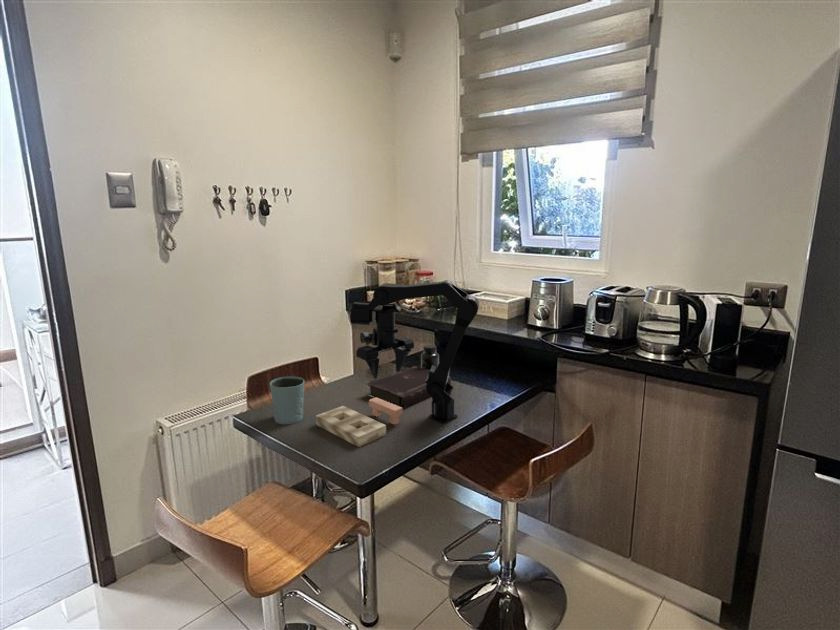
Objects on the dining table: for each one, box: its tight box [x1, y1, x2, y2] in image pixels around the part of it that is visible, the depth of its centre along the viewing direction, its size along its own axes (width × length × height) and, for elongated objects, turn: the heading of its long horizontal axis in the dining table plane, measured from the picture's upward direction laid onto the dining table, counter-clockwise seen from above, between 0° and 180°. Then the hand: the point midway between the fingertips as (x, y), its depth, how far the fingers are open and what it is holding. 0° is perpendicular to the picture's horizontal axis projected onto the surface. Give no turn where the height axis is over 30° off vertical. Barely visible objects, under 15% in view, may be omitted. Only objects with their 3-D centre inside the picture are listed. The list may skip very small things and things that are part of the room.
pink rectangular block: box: [368, 397, 404, 426], centre depth 150 cm, size 12×3×5 cm, turn 46°
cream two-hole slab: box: [315, 405, 387, 448], centre depth 144 cm, size 20×10×3 cm, turn 46°
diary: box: [366, 366, 452, 410], centre depth 173 cm, size 19×25×5 cm
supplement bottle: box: [420, 344, 440, 370], centre depth 186 cm, size 7×7×12 cm
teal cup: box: [269, 376, 306, 425], centre depth 151 cm, size 10×10×12 cm
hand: (386, 374), depth 152 cm, fingers open, 9 cm apart
